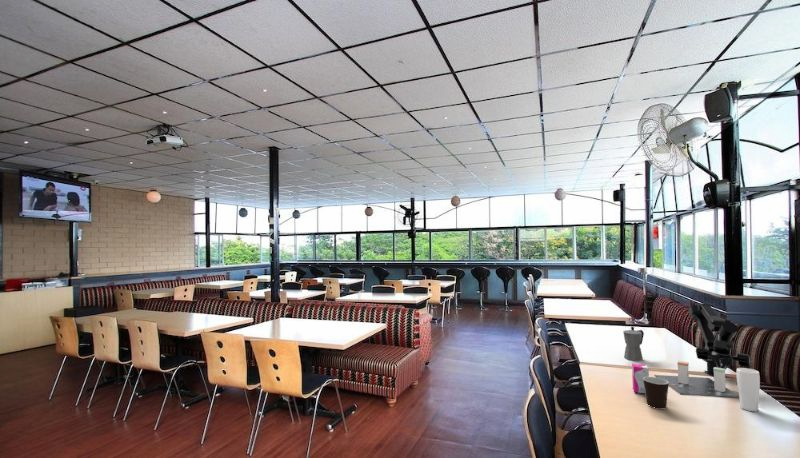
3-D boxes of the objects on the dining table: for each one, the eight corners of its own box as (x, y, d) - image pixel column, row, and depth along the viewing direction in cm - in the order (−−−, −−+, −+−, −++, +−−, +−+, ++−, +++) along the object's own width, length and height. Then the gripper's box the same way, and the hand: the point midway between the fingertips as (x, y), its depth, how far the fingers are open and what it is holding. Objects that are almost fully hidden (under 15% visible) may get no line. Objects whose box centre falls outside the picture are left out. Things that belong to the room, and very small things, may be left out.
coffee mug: (661, 412, 149) (660, 385, 149) (639, 403, 157) (638, 378, 157) (678, 406, 154) (677, 380, 155) (655, 398, 162) (655, 374, 162)
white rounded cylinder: (765, 413, 147) (763, 373, 148) (745, 412, 149) (743, 372, 149) (753, 406, 154) (751, 368, 155) (733, 405, 155) (732, 367, 156)
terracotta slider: (679, 380, 181) (678, 360, 181) (689, 382, 178) (688, 362, 179) (678, 382, 179) (677, 362, 179) (687, 384, 176) (687, 364, 177)
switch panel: (654, 375, 190) (654, 374, 190) (708, 378, 186) (708, 377, 186) (680, 394, 166) (680, 393, 166) (743, 398, 162) (743, 397, 162)
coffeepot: (633, 362, 212) (632, 329, 213) (617, 358, 220) (616, 326, 221) (652, 359, 218) (651, 327, 219) (636, 355, 226) (635, 324, 227)
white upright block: (715, 388, 172) (714, 367, 172) (726, 390, 169) (725, 368, 169) (714, 390, 169) (713, 368, 170) (725, 392, 167) (724, 370, 167)
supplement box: (647, 390, 171) (646, 364, 171) (649, 395, 165) (649, 368, 166) (632, 388, 173) (631, 362, 174) (634, 393, 168) (633, 366, 168)
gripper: (695, 330, 184) (692, 358, 175) (748, 336, 170) (747, 367, 162) (699, 344, 189) (696, 372, 180) (750, 351, 175) (749, 381, 167)
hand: (721, 373), depth 172 cm, fingers closed
